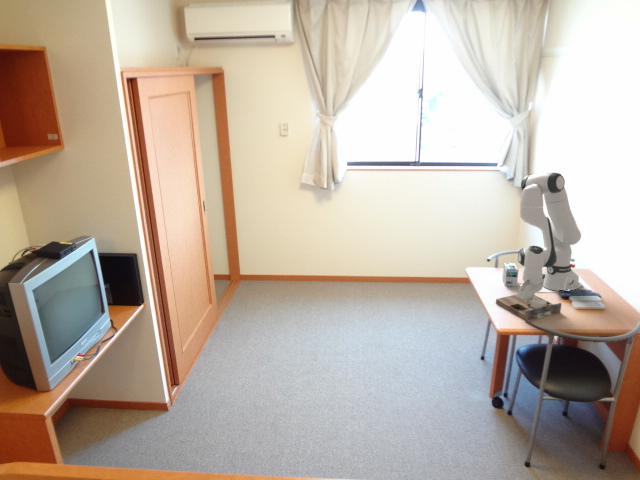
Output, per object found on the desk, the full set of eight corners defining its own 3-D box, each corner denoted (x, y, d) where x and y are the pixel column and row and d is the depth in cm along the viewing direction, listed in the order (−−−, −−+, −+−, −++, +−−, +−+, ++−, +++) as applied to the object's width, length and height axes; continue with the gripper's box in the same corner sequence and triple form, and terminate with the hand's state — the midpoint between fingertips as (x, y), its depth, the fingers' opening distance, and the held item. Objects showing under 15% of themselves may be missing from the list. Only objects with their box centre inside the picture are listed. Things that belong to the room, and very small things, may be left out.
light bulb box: (517, 286, 273) (519, 269, 270) (504, 286, 275) (506, 268, 271) (513, 279, 283) (515, 262, 280) (501, 278, 285) (503, 262, 281)
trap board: (527, 295, 262) (528, 287, 260) (560, 312, 242) (561, 303, 241) (495, 303, 254) (496, 294, 252) (527, 321, 235) (528, 312, 233)
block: (534, 303, 247) (535, 297, 246) (546, 307, 243) (547, 301, 242) (530, 306, 244) (531, 300, 243) (541, 310, 240) (542, 304, 239)
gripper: (528, 285, 234) (525, 310, 238) (547, 273, 246) (543, 298, 251) (516, 281, 238) (513, 306, 242) (535, 270, 251) (532, 294, 255)
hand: (529, 302), depth 247 cm, fingers closed
